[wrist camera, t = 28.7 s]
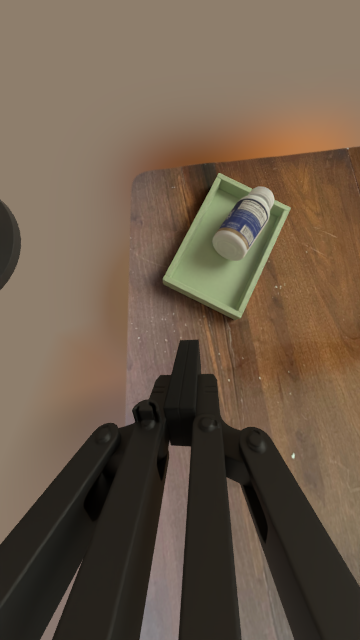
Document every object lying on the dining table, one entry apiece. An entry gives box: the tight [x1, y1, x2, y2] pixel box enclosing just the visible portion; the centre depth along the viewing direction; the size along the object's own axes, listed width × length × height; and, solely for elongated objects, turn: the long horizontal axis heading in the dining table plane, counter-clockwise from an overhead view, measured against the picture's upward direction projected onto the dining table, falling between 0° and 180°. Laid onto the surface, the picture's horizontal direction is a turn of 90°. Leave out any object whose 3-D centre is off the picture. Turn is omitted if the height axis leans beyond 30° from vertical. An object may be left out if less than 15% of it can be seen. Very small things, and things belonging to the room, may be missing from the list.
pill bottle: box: [212, 187, 274, 261], centre depth 26 cm, size 5×5×10 cm
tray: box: [163, 173, 291, 320], centre depth 28 cm, size 20×13×2 cm, turn 154°
